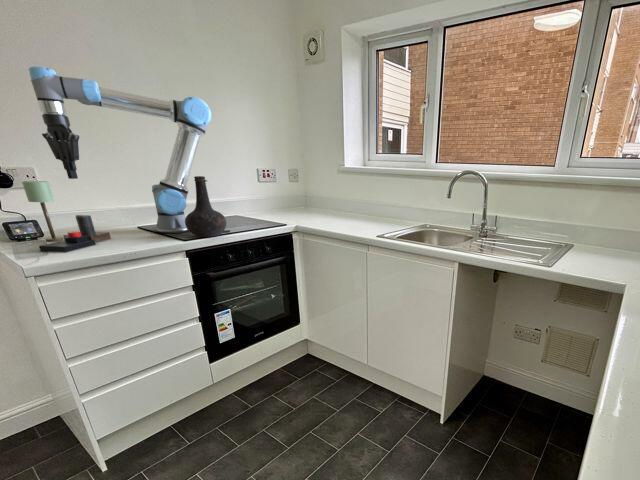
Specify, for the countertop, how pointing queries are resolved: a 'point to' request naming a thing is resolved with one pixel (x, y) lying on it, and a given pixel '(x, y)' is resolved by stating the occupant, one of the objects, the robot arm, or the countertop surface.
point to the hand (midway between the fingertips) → (73, 178)
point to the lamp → (41, 201)
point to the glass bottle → (204, 214)
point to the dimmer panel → (98, 236)
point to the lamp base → (68, 244)
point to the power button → (74, 234)
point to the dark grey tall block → (85, 225)
